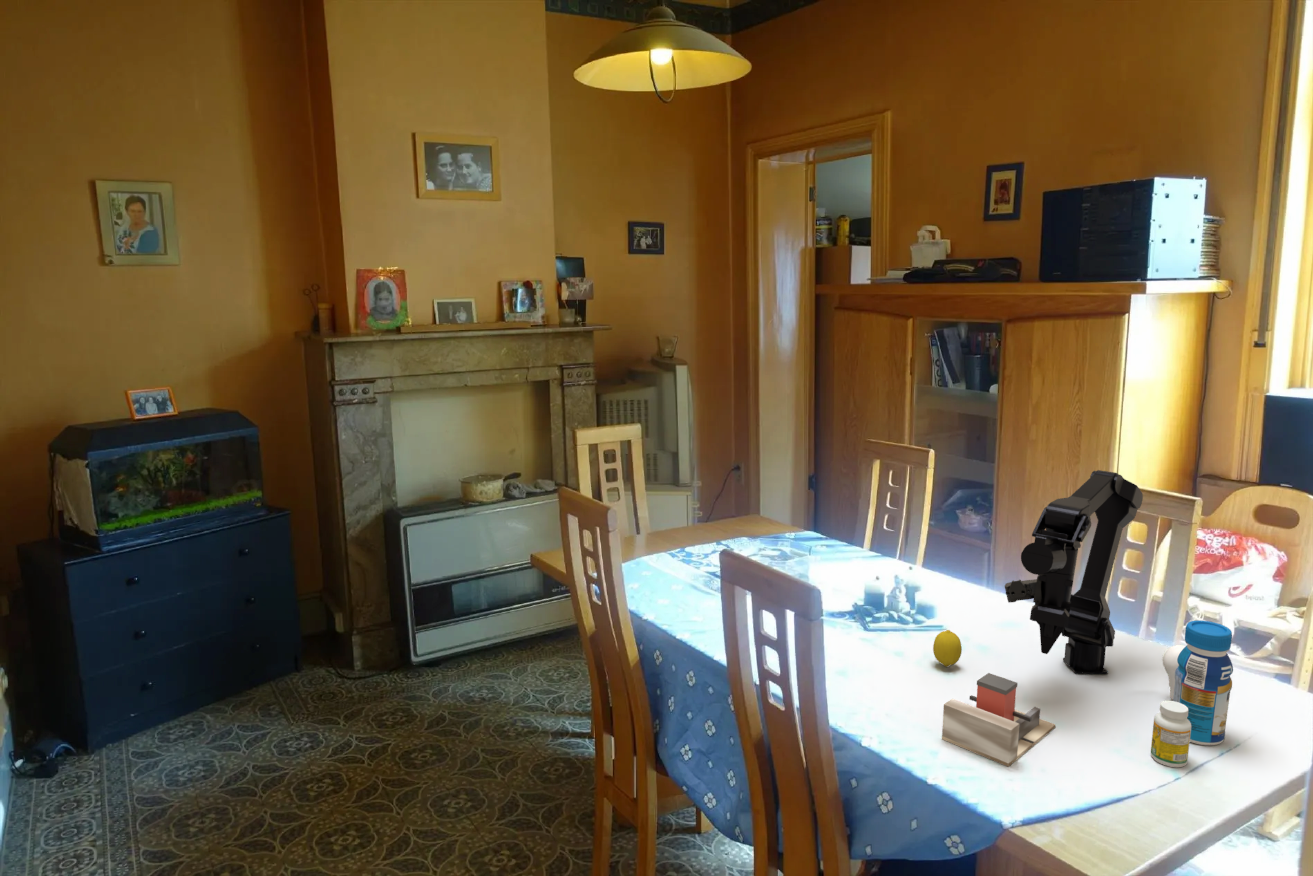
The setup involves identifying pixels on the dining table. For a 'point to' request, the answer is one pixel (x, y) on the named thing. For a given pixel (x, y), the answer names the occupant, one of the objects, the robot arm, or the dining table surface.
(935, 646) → the lemon
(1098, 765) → the dining table surface
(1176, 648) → the lightbulb
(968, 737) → the beige base board
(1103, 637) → the robot arm
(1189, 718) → the beverage bottle
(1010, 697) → the red plug
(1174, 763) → the supplement bottle
